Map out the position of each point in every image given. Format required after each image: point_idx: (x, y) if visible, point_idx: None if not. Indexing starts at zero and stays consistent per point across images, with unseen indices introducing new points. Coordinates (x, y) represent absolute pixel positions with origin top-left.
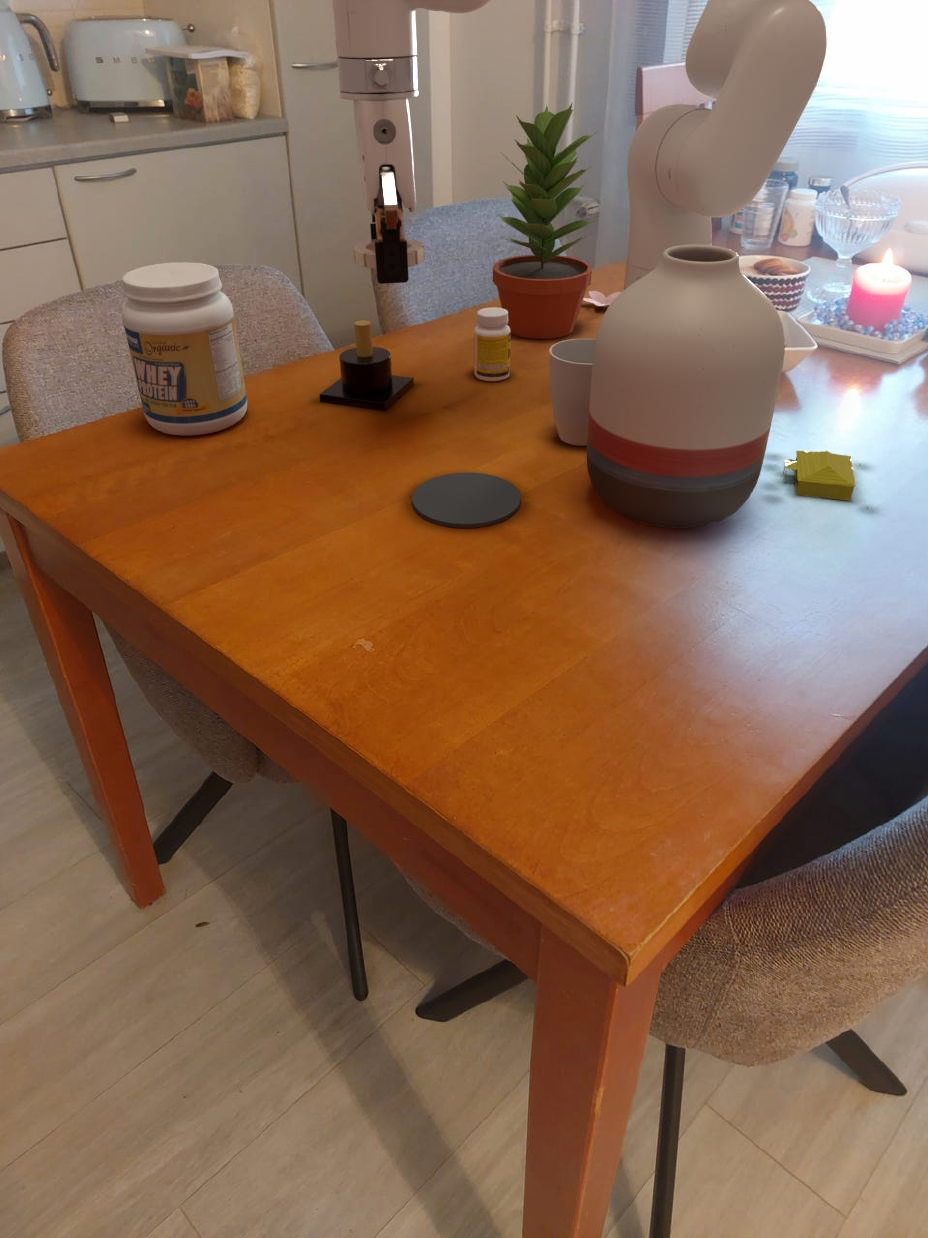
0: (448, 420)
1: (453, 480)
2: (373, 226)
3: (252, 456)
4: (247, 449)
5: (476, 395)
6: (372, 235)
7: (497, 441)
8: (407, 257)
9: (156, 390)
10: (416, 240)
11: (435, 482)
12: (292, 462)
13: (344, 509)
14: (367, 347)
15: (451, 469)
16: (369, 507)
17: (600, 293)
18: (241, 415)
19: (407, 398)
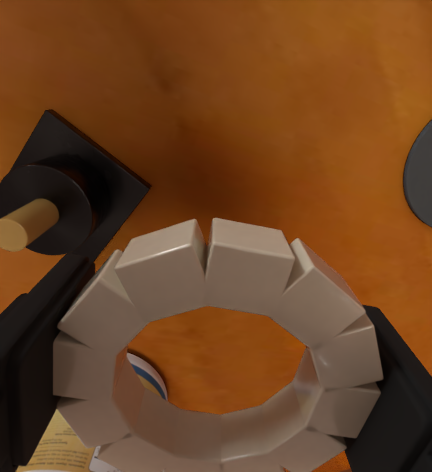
0: (220, 100)
1: (429, 168)
2: (23, 464)
3: (235, 353)
4: (215, 355)
5: (126, 4)
6: (46, 428)
7: (331, 47)
8: (420, 363)
9: None
10: (153, 259)
11: (419, 192)
12: (268, 322)
13: (405, 296)
14: (50, 216)
15: (382, 154)
16: (417, 273)
17: None
18: (138, 359)
19: (109, 138)
